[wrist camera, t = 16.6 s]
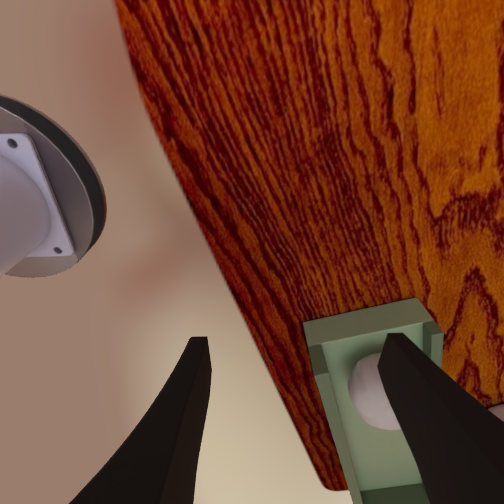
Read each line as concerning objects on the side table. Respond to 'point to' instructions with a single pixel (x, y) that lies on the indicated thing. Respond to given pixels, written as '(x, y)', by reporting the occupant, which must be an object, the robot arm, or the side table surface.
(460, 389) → the robot arm
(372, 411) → the garlic
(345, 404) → the tray
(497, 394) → the side table surface
